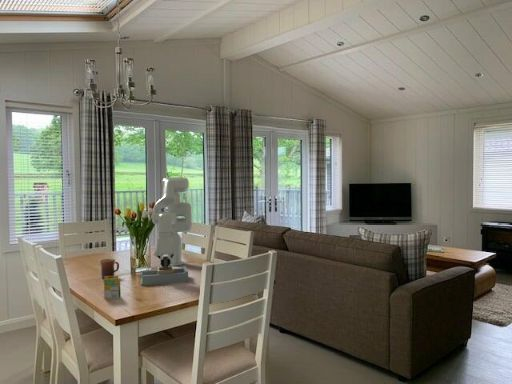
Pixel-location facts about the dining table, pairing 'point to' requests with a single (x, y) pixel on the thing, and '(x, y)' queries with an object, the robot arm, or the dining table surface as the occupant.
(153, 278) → the bay
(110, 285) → the crayon box
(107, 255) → the dining table surface
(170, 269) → the crate
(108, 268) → the mug
